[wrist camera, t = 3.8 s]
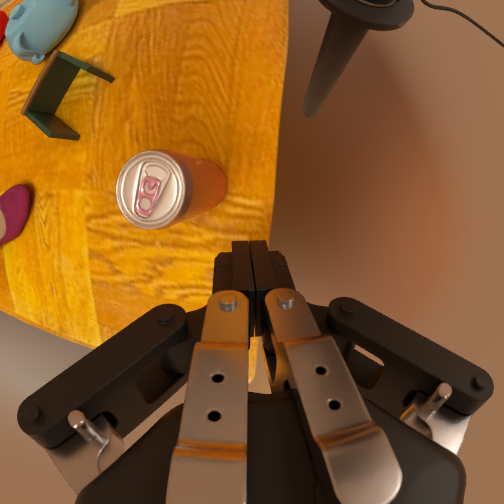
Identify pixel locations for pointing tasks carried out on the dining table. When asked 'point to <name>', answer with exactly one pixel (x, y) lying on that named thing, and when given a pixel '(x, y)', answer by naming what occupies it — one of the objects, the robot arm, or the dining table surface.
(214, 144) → the dining table surface
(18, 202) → the high heel
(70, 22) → the teapot
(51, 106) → the can caddy
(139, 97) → the dining table surface
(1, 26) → the tomato
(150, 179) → the beverage can
